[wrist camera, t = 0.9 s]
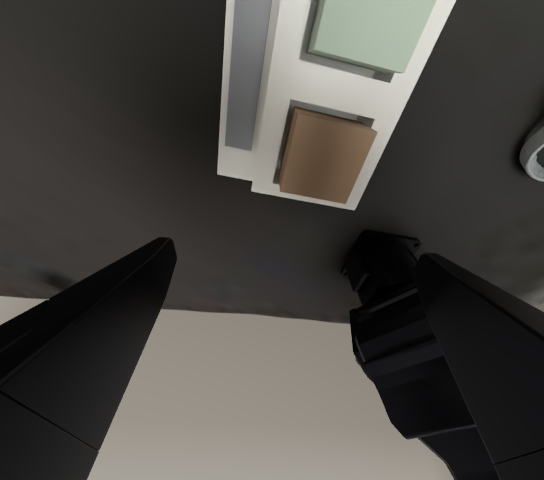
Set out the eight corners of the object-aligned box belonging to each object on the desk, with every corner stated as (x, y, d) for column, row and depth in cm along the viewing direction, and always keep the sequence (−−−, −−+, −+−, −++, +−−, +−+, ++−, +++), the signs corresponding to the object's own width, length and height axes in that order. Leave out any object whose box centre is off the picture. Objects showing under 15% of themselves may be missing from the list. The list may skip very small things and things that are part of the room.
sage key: (426, -46, 10) (471, -79, 8) (380, 72, 13) (404, 73, 11) (334, -76, 10) (354, -122, 7) (305, 52, 12) (313, 49, 10)
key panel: (460, -97, 11) (533, -161, 8) (340, 193, 21) (352, 215, 18) (240, -179, 10) (224, -292, 7) (219, 169, 20) (208, 190, 16)
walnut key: (360, 121, 15) (377, 132, 12) (335, 185, 17) (345, 204, 15) (294, 106, 14) (298, 114, 12) (279, 173, 17) (279, 191, 14)
